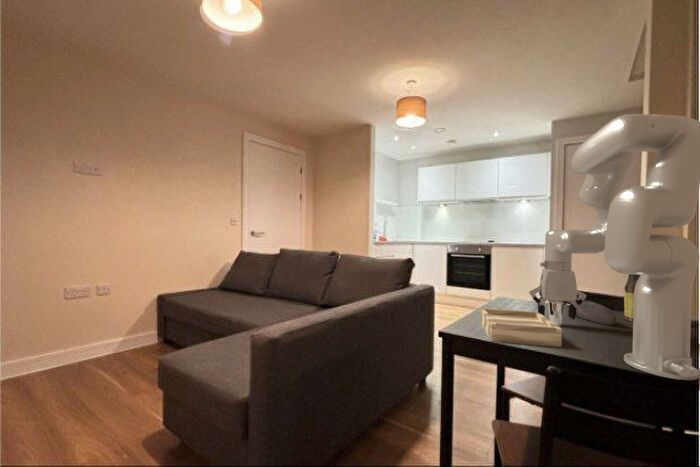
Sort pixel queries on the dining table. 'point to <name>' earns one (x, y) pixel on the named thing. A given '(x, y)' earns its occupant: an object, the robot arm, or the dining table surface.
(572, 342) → the dining table surface
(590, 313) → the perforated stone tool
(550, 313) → the milkshake
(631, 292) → the sauce bottle
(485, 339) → the dining table surface
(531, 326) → the wooden tray
